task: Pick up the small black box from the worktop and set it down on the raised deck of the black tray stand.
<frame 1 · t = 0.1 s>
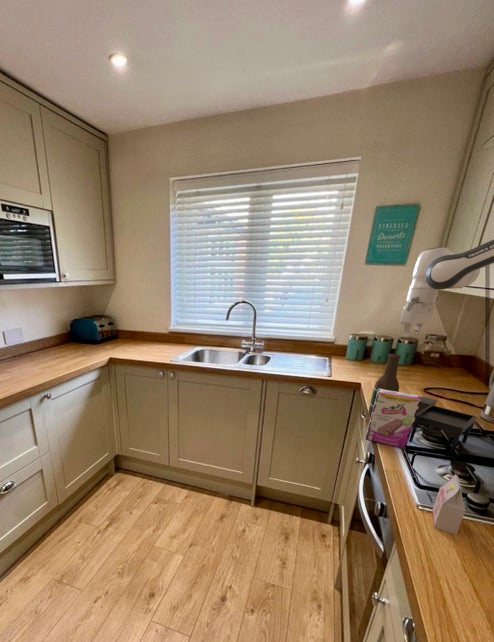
hand: (411, 335, 123), 29 cm above the countertop, tool pointing down, fingers open, 8 cm apart
beer bottle: (378, 417, 123), on the countertop
candy bar box: (385, 442, 104), on the countertop
small gable carton: (443, 522, 70), on the countertop
black box: (422, 412, 129), on the countertop
black tray stand: (437, 442, 105), on the countertop
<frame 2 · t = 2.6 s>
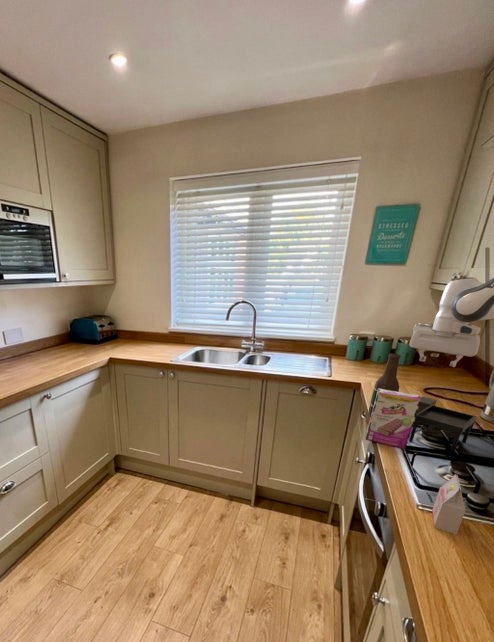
hand: (436, 363, 123), 20 cm above the countertop, tool pointing down, fingers open, 8 cm apart
nothing on the countertop moved.
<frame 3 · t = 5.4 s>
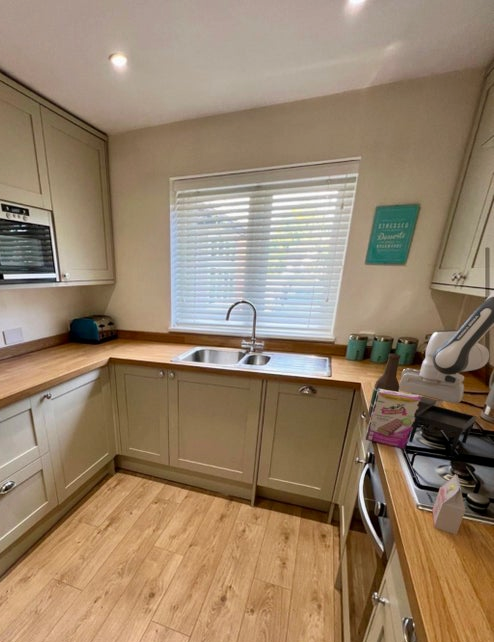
hand: (423, 407, 129), 2 cm above the countertop, tool pointing down, fingers closed on black box, 5 cm apart
black box: (422, 412, 129), on the countertop, touching gripper
everything else where it was.
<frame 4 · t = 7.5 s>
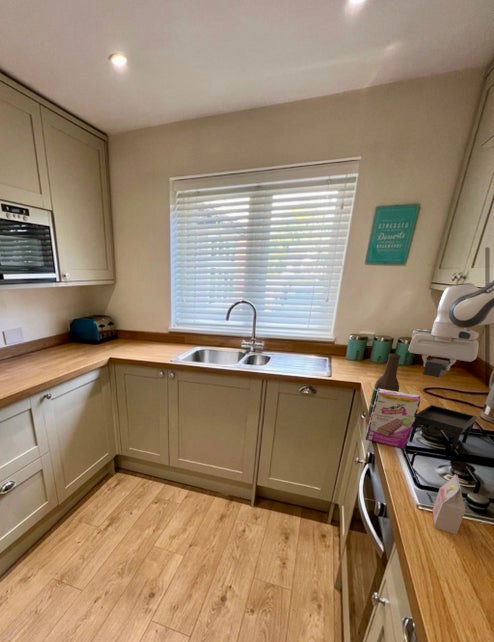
hand: (436, 368, 123), 18 cm above the countertop, tool pointing down, fingers closed on black box, 5 cm apart
black box: (434, 374, 124), point 15 cm above the countertop, touching gripper
everything else where it was.
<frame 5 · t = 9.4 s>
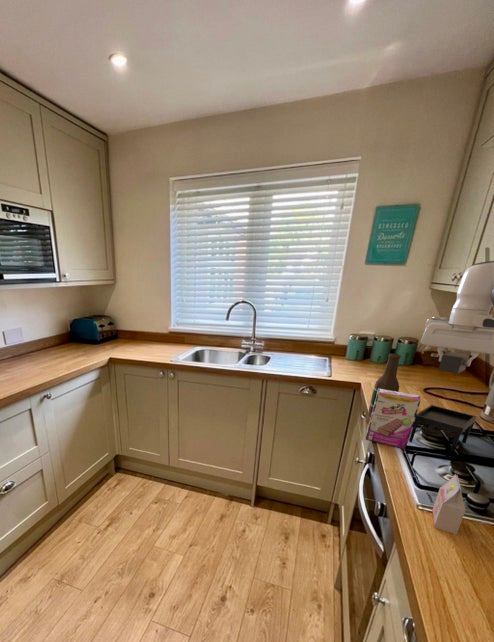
hand: (453, 363, 105), 24 cm above the countertop, tool pointing down, fingers closed on black box, 5 cm apart
black box: (451, 370, 105), point 22 cm above the countertop, touching gripper
everything else where it was.
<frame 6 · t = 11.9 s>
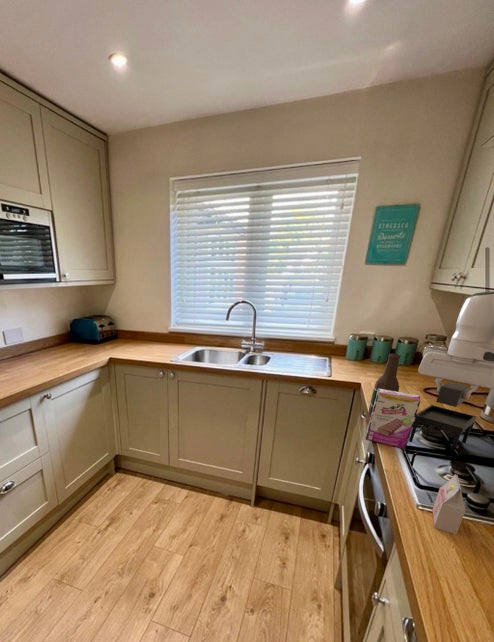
hand: (452, 395, 100), 16 cm above the countertop, tool pointing down, fingers closed on black box, 5 cm apart
black box: (449, 401, 101), point 14 cm above the countertop, touching gripper
everything else where it was.
when the fingers open (10 cm above the countertop, at t = 13.7 s): black box stays where it is, resting on black tray stand.
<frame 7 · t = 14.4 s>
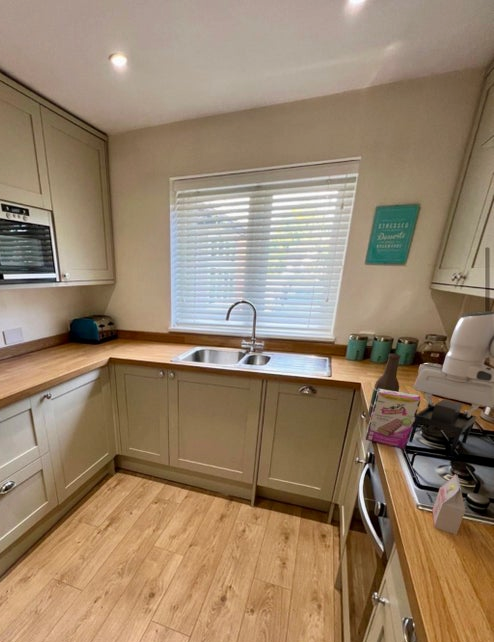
hand: (447, 411, 102), 11 cm above the countertop, tool pointing down, fingers open, 8 cm apart
black box: (444, 419, 103), point 8 cm above the countertop, touching black tray stand
everything else where it was.
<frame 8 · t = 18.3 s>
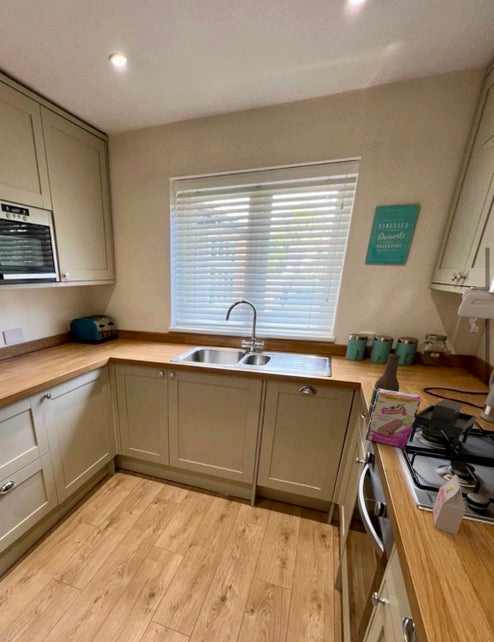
hand: (492, 334, 102), 33 cm above the countertop, tool pointing down, fingers open, 8 cm apart
nothing on the countertop moved.
at the end: black box inside the target area on the black tray stand (0.1 cm from its centre), point 8.0 cm above the black tray stand's base; black box tilted 0° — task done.
